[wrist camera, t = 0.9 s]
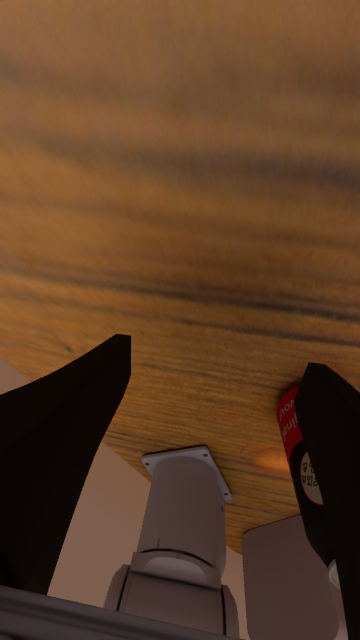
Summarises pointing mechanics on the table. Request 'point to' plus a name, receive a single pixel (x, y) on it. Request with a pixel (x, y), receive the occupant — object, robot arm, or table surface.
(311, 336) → the table surface
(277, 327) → the table surface
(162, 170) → the table surface
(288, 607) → the electronic device
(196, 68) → the table surface
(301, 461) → the beverage can
